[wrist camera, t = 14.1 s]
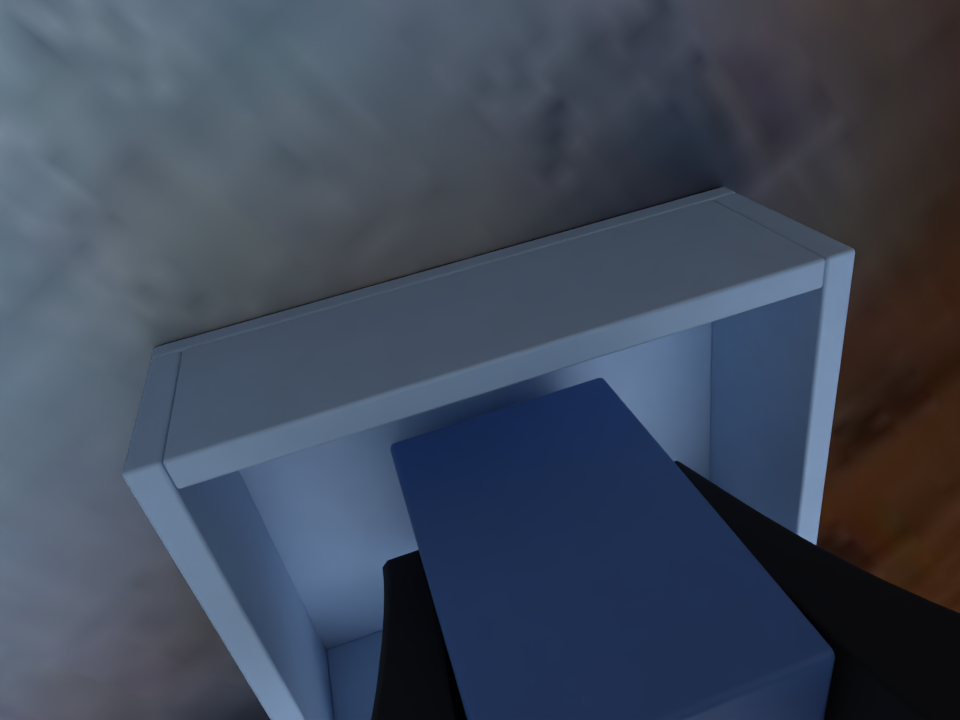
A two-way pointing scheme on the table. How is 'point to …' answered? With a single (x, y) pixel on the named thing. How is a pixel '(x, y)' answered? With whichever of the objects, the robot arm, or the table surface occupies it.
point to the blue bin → (475, 412)
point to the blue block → (597, 574)
